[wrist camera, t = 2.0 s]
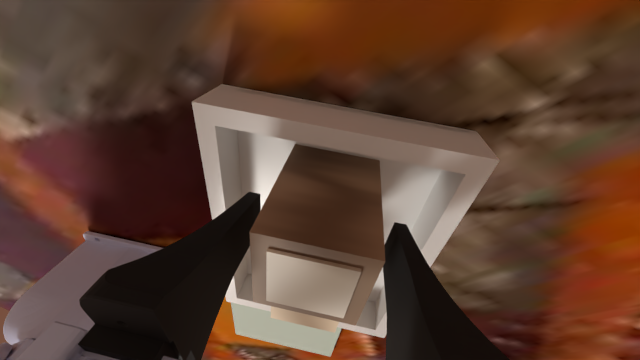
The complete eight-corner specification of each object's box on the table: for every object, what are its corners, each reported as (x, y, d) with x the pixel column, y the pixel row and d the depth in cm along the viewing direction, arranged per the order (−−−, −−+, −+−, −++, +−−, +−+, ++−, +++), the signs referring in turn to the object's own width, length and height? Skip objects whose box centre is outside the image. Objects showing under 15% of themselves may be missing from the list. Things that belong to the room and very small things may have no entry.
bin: (240, 271, 25) (226, 301, 22) (221, 83, 14) (191, 101, 12) (382, 303, 24) (384, 337, 22) (476, 131, 13) (499, 160, 11)
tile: (238, 327, 32) (235, 333, 32) (231, 272, 25) (227, 279, 25) (331, 349, 32) (330, 356, 31) (350, 299, 25) (350, 307, 24)
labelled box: (289, 206, 18) (251, 304, 12) (295, 144, 15) (247, 235, 9) (360, 221, 18) (355, 328, 12) (379, 160, 15) (385, 264, 9)
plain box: (284, 272, 23) (270, 317, 19) (287, 234, 20) (271, 281, 16) (340, 284, 22) (335, 332, 19) (351, 248, 19) (347, 298, 16)
